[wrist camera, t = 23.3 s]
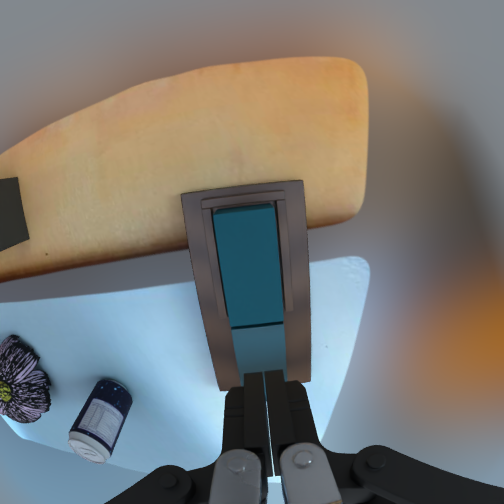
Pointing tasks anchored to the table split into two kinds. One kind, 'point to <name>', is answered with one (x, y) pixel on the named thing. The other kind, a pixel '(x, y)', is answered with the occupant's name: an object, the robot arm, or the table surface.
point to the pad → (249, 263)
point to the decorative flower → (22, 382)
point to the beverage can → (100, 421)
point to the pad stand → (11, 214)
